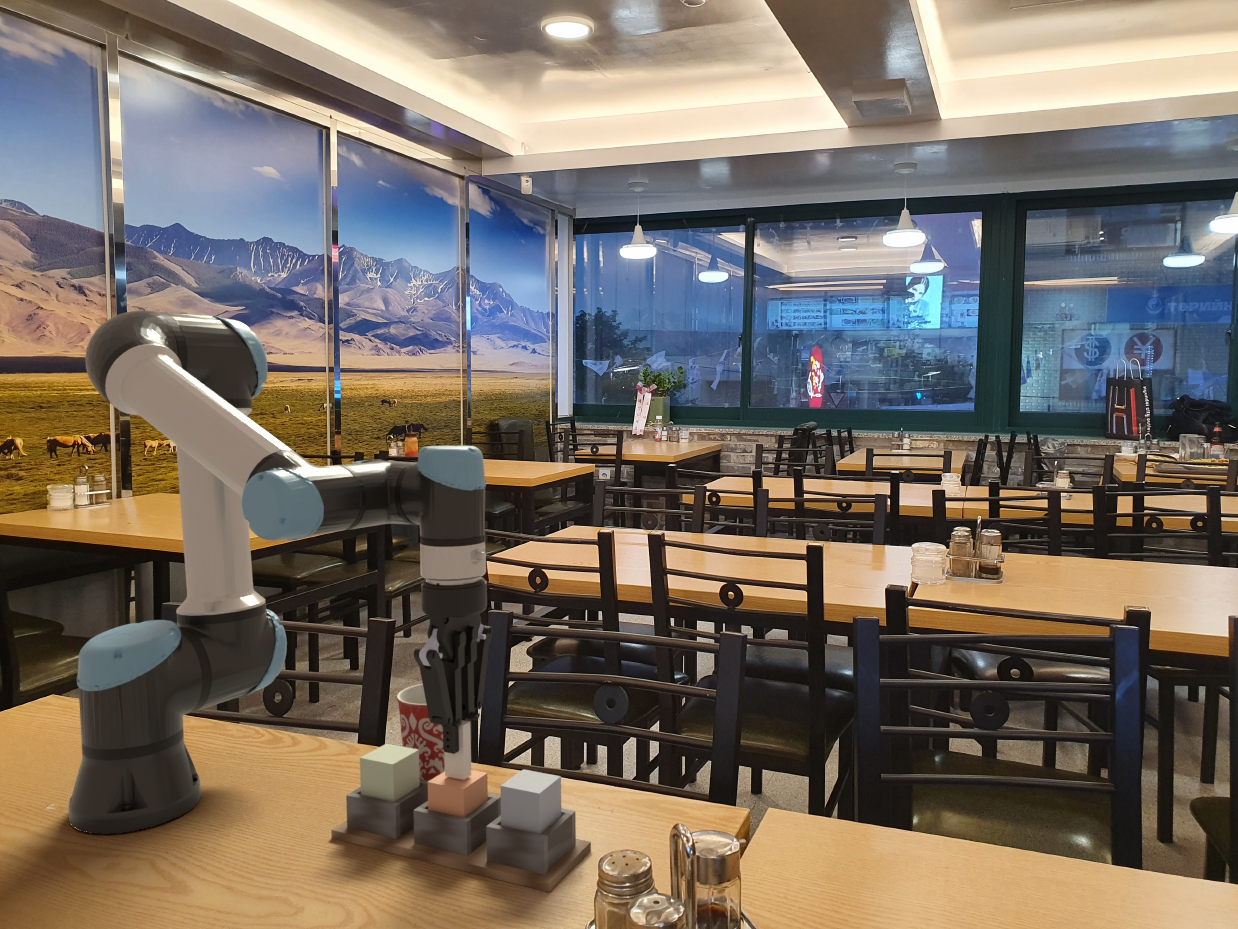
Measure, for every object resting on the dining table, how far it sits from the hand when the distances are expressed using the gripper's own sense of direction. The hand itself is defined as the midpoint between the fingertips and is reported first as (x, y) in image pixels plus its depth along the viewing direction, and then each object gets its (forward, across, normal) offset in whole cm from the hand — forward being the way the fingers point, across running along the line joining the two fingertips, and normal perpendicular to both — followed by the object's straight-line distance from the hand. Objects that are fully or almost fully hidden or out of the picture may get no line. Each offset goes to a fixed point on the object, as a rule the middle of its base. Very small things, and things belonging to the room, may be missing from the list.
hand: (458, 775), depth 107 cm
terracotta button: (+6, 0, 0) cm, 6 cm away
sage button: (+5, 0, +10) cm, 11 cm away
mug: (+9, +13, +12) cm, 20 cm away
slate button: (+5, 0, -10) cm, 11 cm away
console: (+8, 0, 0) cm, 8 cm away
